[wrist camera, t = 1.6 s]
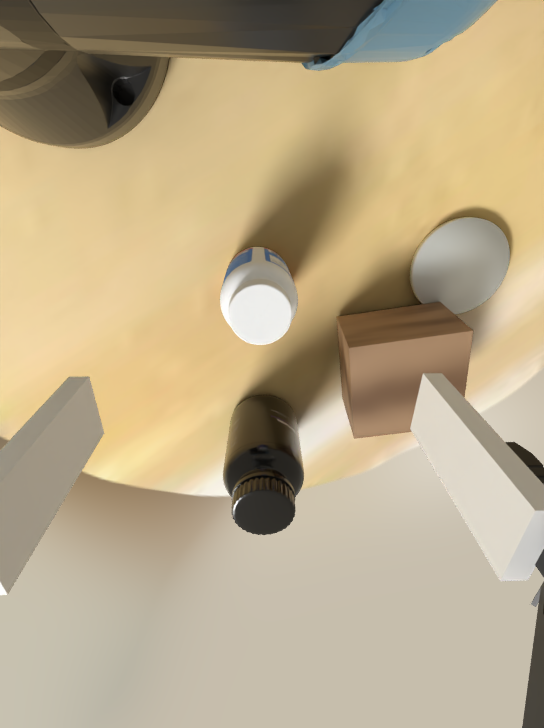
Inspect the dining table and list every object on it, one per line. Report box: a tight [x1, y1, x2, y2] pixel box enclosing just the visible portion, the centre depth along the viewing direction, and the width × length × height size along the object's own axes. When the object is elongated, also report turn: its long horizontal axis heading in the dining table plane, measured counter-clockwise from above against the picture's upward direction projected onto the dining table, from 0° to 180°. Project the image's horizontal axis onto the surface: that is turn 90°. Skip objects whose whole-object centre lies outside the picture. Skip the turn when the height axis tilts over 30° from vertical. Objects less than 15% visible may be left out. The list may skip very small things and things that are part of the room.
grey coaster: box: [410, 217, 510, 314], centre depth 31 cm, size 8×8×1 cm
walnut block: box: [337, 302, 473, 439], centre depth 31 cm, size 9×9×6 cm
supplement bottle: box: [223, 395, 304, 535], centre depth 32 cm, size 7×7×12 cm
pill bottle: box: [220, 247, 298, 345], centre depth 27 cm, size 6×5×10 cm
